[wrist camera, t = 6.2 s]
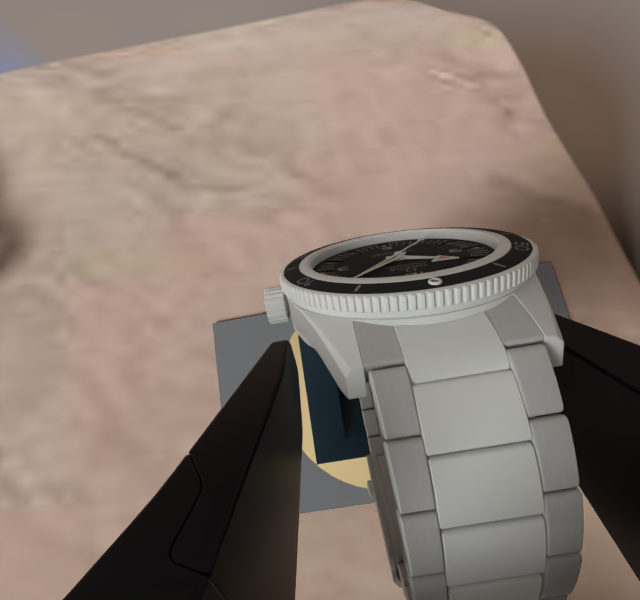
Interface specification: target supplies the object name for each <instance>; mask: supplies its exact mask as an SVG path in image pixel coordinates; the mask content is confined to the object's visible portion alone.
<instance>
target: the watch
mask: <svg viewBox="0 0 640 600" xmlns="http://www.w3.org/2000/svg"><path fill="white" fill-rule="evenodd" d="M538 265H539V248H538V246H537V245H536V244H535V243H534V242H533V241H531V240H530V239H528V238H525V237H522V236H520V235H516V234H513V233H509V232H504V231H499V230H492V229H482V228H454V227H453V228H426V229H413V230H403V231H395V232H387V233H381V234H374V235H369V236H363V237H358V238H354V239H349V240H345V241H341V242H337V243H334V244H330V245H327V246H324V247H321V248H318V249H315V250H313V251H310V252H308V253H306V254H304V255H302V256H300V257H298V258H296V259H294V260H293V261H291V262H290V263H288V264H287V265H286V266H285V267H284V268H283V269H282V270H281V272H280V276H279V279H280V283H281V286H278V287H272V288H266V289H265V292H264V300H265V308H266V313H267V317H268V320H269V322H270V324H278V323H285V322H289V318H290V314H291V319H292V323H293V327H294V329H295V331H296V332H297V333H298V334H299V335H298V339H299V346H300V353H301V360H302V367H303V373H304V380H305V387H306V394H307V401H308V408H309V415H310V421H311V428H312V435H313V442H314V449H315V456H316V462H317V464H324V463H330V462H336V461H343V460H349V459H356V458H362V457H367V463H368V468H369V473H370V478H371V480H368V481H367V488H368V493H369V496H370V498H371V499H372V498H375V501H376V506H377V510H378V515H379V520H380V524H381V529H382V533H383V537H384V542H385V546H386V551H387V555H388V559H389V564H390V568H391V572H392V576H393V581H394V583H396V584H397V585H398V586H399V587H402V588H403V590H404V594H405V597H406V599H407V600H566V599H567V595H568V594H571V593H572V591H573V589H574V587H575V585H576V582H577V579H578V576H579V572H580V567H581V562H582V557H581V554H580V552H579V551H581V550H582V544H583V499H582V494H581V492H580V490H579V489H578V488H577V487H578V486H579V474H578V466H577V459H576V454H575V448H574V443H573V438H572V434H571V429H570V425H569V421H568V419H567V417H566V416H565V415H563V414H552V413H559V412H562V411H563V408H564V407H563V402H562V398H561V394H560V390H559V387H558V383H557V380H556V376H555V373H554V370H553V367H557V366H562V365H563V353H564V341H563V338H562V335H561V332H560V329H559V326H558V324H557V321H556V318H555V316H554V313H553V311H552V308H551V306H550V303H549V301H548V299H547V297H546V294H545V292H544V290H543V288H542V286H541V284H540V281H539V279H538V277H537V275H536V272H535V271H536V269H537V267H538ZM546 414H552V415H546ZM539 415H546V416H539ZM533 416H539V417H533ZM528 417H533V418H528Z"/></svg>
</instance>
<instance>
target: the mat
mask: <svg viewBox="0 0 640 600" xmlns="http://www.w3.org/2000/svg"><path fill="white" fill-rule="evenodd" d="M535 272H536V275H537V277H538V279H539V281H540V284H541V286H542V288H543V290H544V292H545V294H546V297H547V299H548V301H549V303H550V306H551V308H552V311H553V313H554V314H557V315H560V316H562V317H565V318H568V319H569V316H568V313H567V310H566V307H565V303H564V300H563V297H562V294H561V291H560V288H559V285H558V282H557V279H556V276H555V273H554V270H553V267H552V264H551V261H548V262H543V263H539V265H538V267H537V269H536V271H535ZM213 332H214V341H215V351H216V361H217V371H218V381H219V391H220V400H221V409H222V408H223V406H224V405H225V404H226V402H227V401H228V400H229V398H230V397H231V396H232V394H233V393H234V392H235V390H236V389H237V388H238V386H239V385H240V384H241V382H242V381H243V380H244V378H245V377H246V376H247V375H248V373H249V372H250V371H251V369H252V368H253V367H254V365H255V364H256V363H257V361H258V360H259V359H260V357H261V356H262V355H263V353H264V352H265V351H266V349H267V348H268V347H269V345H270V344H271V343H272V342H276V341H282V340H289V342H290V343H291V346H292V350H293V353H294V357H295V360H296V364H297V368H298V374H299V387H300V399H301V412H302V428H303V442H302V463H301V484H300V505H299V514H300V513H307V512H314V511H320V510H327V509H334V508H340V507H347V506H354V505H360V504H367V503H374V502H376V501H375V498H372V499H371V498H370V496H369V493H368V488H367V481H368V480H371V478H370V473H369V468H368V463H367V457H362V458H356V459H349V460H343V461H336V462H330V463H324V464H317V462H316V456H315V449H314V442H313V435H312V428H311V421H310V415H309V408H308V401H307V394H306V387H305V380H304V373H303V367H302V360H301V353H300V346H299V339H298V335H299V334H298V333H297V332H296V331H295V329H294V327H293V323H292V319H291V314H290V318H289V322H285V323H278V324H270V322H269V320H268V317H267V314H262V315H256V316H251V317H246V318H240V319H235V320H229V321H224V322H219V323H213ZM533 417H535V416H533ZM533 417H528V418H533Z"/></svg>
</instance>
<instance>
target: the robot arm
mask: <svg viewBox="0 0 640 600" xmlns="http://www.w3.org/2000/svg"><path fill="white" fill-rule="evenodd" d="M554 316H555V318H556V321H557V324H558V326H559V329H560V332H561V335H562V338H563V341H564V353H563V365H562V366H557V367H553V370H554V373H555V376H556V380H557V383H558V387H559V390H560V394H561V398H562V402H563V407H564V408H563V411H562V412H559V413H552V414H563V415H565V416H566V417H567V419H568V421H569V425H570V429H571V434H572V438H573V443H574V448H575V454H576V459H577V466H578V474H579V487H580V488H581V490H582V491H583V493H584V495H585V496H586V498H587V499H588V501H589V502H590V504H591V506H592V507H593V509H594V510H595V512H596V513H597V515H598V517H599V518H600V520H601V521H602V523H603V524H604V526H605V528H606V529H607V531H608V532H609V534H610V535H611V537H612V539H613V540H614V542H615V543H616V545H617V546H618V548H619V550H620V551H621V553H622V554H623V556H624V557H625V559H626V561H627V562H628V564H629V565H630V567H631V568H632V570H633V572H634V573H635V575H636V576H637V578H638V579H639V581H640V346H639V345H637V344H634V343H631V342H629V341H626V340H623V339H621V338H618V337H615V336H613V335H610V334H607V333H605V332H602V331H599V330H597V329H594V328H591V327H589V326H586V325H584V324H581V323H578V322H576V321H573V320H570V319H568V318H565V317H562V316H560V315H557V314H554ZM552 414H546V415H552ZM546 415H539V416H546ZM539 416H535V417H539ZM302 442H303V428H302V412H301V399H300V387H299V374H298V368H297V364H296V360H295V357H294V353H293V350H292V346H291V343H290V342H289V340H282V341H276V342H272V343H271V344H270V345H269V347H268V348H267V349H266V351H265V352H264V353H263V355H262V356H261V357H260V359H259V360H258V361H257V363H256V364H255V365H254V367H253V368H252V369H251V371H250V372H249V373H248V375H247V376H246V377H245V378H244V380H243V381H242V382H241V384H240V385H239V386H238V388H237V389H236V390H235V392H234V393H233V394H232V396H231V397H230V398H229V400H228V401H227V402H226V404H225V405H224V406H223V408H222V409H221V410H220V411H219V413H218V414H217V415H216V417H215V418H214V419H213V421H212V422H211V423H210V425H209V426H208V427H207V429H206V430H205V431H204V433H203V434H202V435H201V437H200V438H199V439H198V441H197V442H196V443H195V444H194V446H193V447H192V448H191V450H190V451H189V455H186V456H185V457H184V459H183V460H182V461H181V463H180V464H179V465H178V467H177V468H176V469H175V471H174V472H173V473H172V474H171V476H170V477H169V478H168V479H167V481H166V482H165V483H164V485H163V486H162V487H161V488H160V490H159V491H158V492H157V493H156V495H155V496H154V497H153V498H152V499H151V500H150V502H149V503H148V504H147V505H146V506H145V507H144V509H143V510H142V511H141V512H140V513H139V514H138V516H137V517H136V518H135V519H134V520H133V521H132V523H131V524H130V525H129V526H128V527H127V528H126V529H125V530H124V532H123V533H122V534H121V535H120V536H119V537H118V538H117V539H116V541H115V542H114V543H113V544H112V545H111V546H110V547H109V548H108V550H107V551H106V552H105V553H104V554H103V555H102V556H101V557H100V559H99V560H98V561H97V562H96V563H95V564H94V565H93V566H92V567H91V569H90V570H89V571H88V572H87V573H86V574H85V575H84V576H83V578H82V579H81V580H80V581H79V582H78V583H77V584H76V585H75V587H74V588H73V589H72V590H71V591H70V592H69V593H68V594H67V595H66V597H65V598H64V599H63V600H295V589H296V568H297V547H298V526H299V505H300V484H301V463H302Z"/></svg>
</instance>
